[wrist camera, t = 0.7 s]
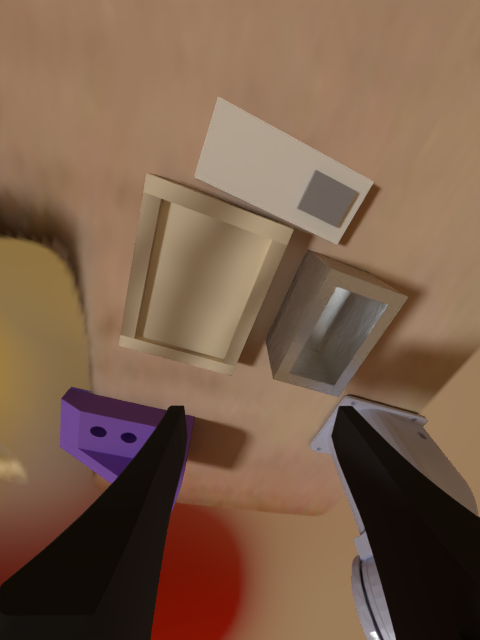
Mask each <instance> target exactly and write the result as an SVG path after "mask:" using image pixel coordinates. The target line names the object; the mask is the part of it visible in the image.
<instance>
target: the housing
mask: <svg viewBox="0 0 480 640" xmlns="http://www.w3.org/2000/svg"><path fill="white" fill-rule="evenodd" d="M407 299H408V296H406V295H404V294H403V293H401V292H399V291H398V290H396V289H394V288H393V287H391V286H389V285H388V284H386V283H385V282H383V281H381V280H380V279H378V278H376V277H375V276H373V275H371V274H370V273H368V272H366V271H363V270H360V269H358V268H355V267H352V266H350V265H347V264H344V263H342V262H339V261H337V260H334V259H331V258H329V257H326V256H323V255H321V254H318V253H315V252H313V251H310V250H307V252H306V254H305V256H304V258H303V260H302V262H301V265H300V267H299V269H298V271H297V273H296V275H295V277H294V280H293V282H292V284H291V286H290V288H289V290H288V292H287V295H286V297H285V299H284V301H283V303H282V305H281V308H280V310H279V312H278V314H277V316H276V318H275V320H274V323H273V325H272V327H271V329H270V331H269V333H268V335H267V338H266V340H265V341H266V346H267V351H268V356H269V361H270V366H271V371H272V376H273V379H274V380H278V381H282V382H285V383H289V384H293V385H296V386H300V387H304V388H307V389H311V390H315V391H318V392H322V393H326V394H329V395H333V396H337V397H339V395H340V394H341V393H342V391H343V390H344V388H345V387H346V386H347V384H348V383H349V381H350V380H351V378H352V377H353V376H354V374H355V373H356V371H357V370H358V368H359V367H360V366H361V364H362V363H363V361H364V360H365V358H366V357H367V356H368V354H369V353H370V351H371V350H372V349H373V347H374V346H375V344H376V343H377V341H378V340H379V339H380V337H381V336H382V334H383V333H384V331H385V330H386V329H387V327H388V326H389V324H390V323H391V321H392V320H393V319H394V317H395V316H396V314H397V313H398V312H399V310H400V309H401V307H402V306H403V304H404V303H405V302H406V300H407Z"/></svg>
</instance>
